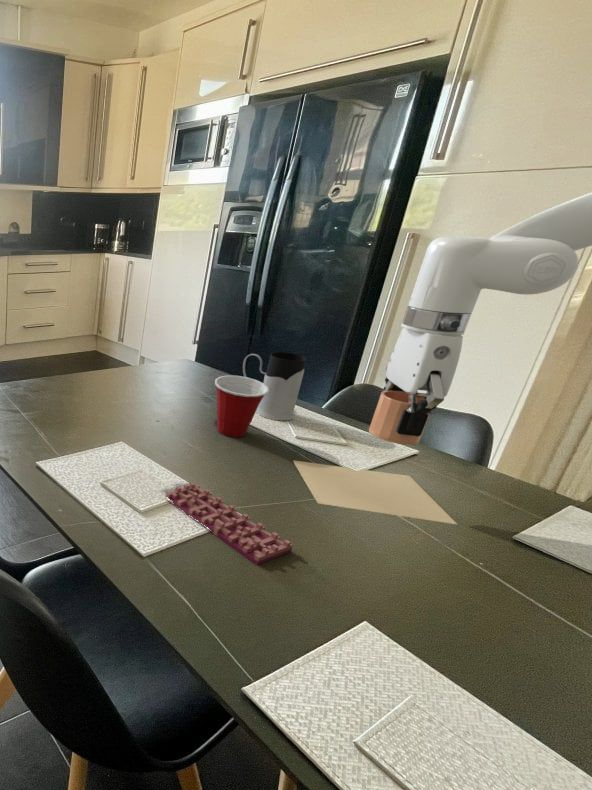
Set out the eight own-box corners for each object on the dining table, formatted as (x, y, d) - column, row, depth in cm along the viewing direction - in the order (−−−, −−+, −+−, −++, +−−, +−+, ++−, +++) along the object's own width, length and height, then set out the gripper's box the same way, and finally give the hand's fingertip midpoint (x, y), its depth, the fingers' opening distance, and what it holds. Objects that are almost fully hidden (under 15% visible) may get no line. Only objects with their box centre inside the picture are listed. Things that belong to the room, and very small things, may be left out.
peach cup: (407, 430, 85) (420, 393, 82) (427, 447, 79) (442, 407, 76) (362, 425, 86) (374, 388, 84) (378, 441, 80) (392, 402, 78)
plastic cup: (209, 439, 107) (219, 389, 103) (202, 420, 117) (211, 373, 112) (263, 445, 105) (275, 394, 100) (250, 425, 115) (261, 377, 110)
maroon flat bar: (193, 488, 88) (195, 479, 87) (290, 552, 72) (293, 541, 71) (162, 497, 85) (164, 487, 85) (257, 565, 69) (259, 554, 69)
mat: (408, 476, 93) (409, 475, 93) (471, 539, 75) (472, 538, 75) (292, 461, 98) (293, 460, 98) (325, 516, 81) (326, 515, 80)
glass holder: (285, 423, 116) (300, 363, 110) (227, 405, 126) (238, 350, 120) (300, 415, 121) (315, 357, 115) (243, 398, 131) (254, 344, 126)
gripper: (501, 335, 66) (452, 451, 73) (433, 312, 82) (398, 409, 89) (435, 331, 68) (394, 444, 75) (382, 308, 84) (351, 404, 90)
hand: (397, 424), depth 82 cm, fingers closed on peach cup, 6 cm apart
